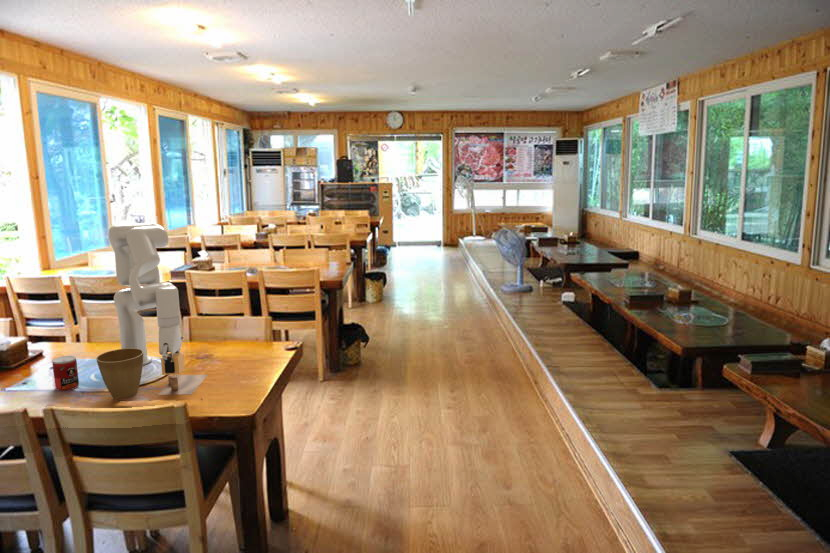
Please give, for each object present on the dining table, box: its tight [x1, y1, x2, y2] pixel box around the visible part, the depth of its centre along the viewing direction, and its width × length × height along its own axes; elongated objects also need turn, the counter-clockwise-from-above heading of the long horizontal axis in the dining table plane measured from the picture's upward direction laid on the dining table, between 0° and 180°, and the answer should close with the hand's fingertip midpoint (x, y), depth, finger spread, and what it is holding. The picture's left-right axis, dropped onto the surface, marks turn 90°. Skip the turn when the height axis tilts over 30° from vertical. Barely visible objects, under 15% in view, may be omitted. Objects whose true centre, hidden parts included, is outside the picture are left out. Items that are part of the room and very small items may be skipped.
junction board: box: [157, 374, 208, 396], centre depth 219 cm, size 12×20×6 cm, turn 3°
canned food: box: [51, 355, 80, 392], centre depth 220 cm, size 8×8×11 cm
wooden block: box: [160, 352, 186, 376], centre depth 212 cm, size 6×6×6 cm
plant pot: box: [95, 348, 144, 402], centre depth 209 cm, size 15×15×16 cm
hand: (173, 369), depth 212 cm, fingers closed on wooden block, 5 cm apart
